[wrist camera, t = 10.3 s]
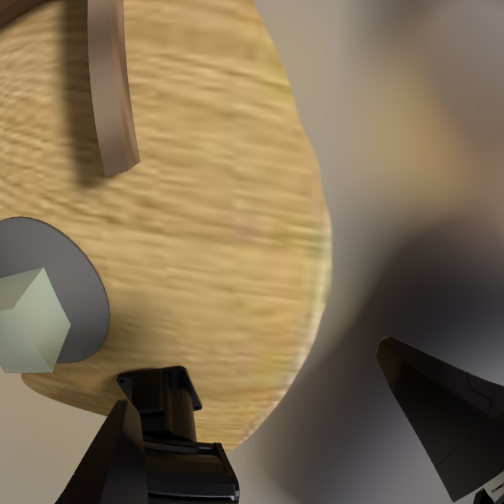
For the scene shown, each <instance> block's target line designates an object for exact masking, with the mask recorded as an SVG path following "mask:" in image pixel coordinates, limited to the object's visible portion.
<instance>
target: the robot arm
mask: <svg viewBox="0 0 504 504" xmlns="http://www.w3.org/2000/svg"><path fill="white" fill-rule="evenodd" d="M376 359H377V361H378V363H379V366H380V368H381V370H382V372H383V374H384V376H385V378H386V381H387V383H388V385H389V387H390V389H391V391H392V393H393V395H394V396H395V398H396V400H397V401H398V403H399V405H400V407H401V408H402V410H403V412H404V413H405V415H406V417H407V418H408V420H409V422H410V424H411V425H412V427H413V429H414V431H415V432H416V434H417V436H418V438H419V440H420V441H421V443H422V445H423V446H424V448H425V450H426V452H427V454H428V456H429V457H430V459H431V461H432V463H433V465H434V467H435V469H436V471H437V473H438V474H439V476H440V478H441V480H442V482H443V484H444V486H445V488H446V490H447V492H448V494H449V496H450V498H451V500H452V501H453V502H455V501H457V500H459V499H461V498H463V497H464V496H466V495H468V494H470V493H471V492H473V491H475V490H476V489H478V488H479V487H481V486H483V488H482V489H481V490H479V491H478V492H477V493H476V495H475V499H474V502H473V504H504V386H502V385H499V384H496V383H493V382H490V381H487V380H484V379H482V378H479V377H477V376H475V375H472V374H470V373H468V372H465V371H464V370H461V369H459V368H457V367H455V366H453V365H450V364H448V363H446V362H444V361H442V360H440V359H438V358H436V357H433V356H431V355H429V354H427V353H425V352H423V351H421V350H419V349H416V348H414V347H412V346H410V345H408V344H406V343H404V342H402V341H400V340H397V339H395V338H393V337H391V336H388V337H385V338H383V339H381V340H380V341H379V344H378V348H377V353H376ZM117 383H118V384H119V386H120V387H121V388H122V390H123V391H124V393H125V394H126V396H127V397H128V399H129V400H127V399H126V400H118V401H117V402H116V404H115V405H114V407H113V409H112V410H111V412H110V413H109V415H108V417H107V418H106V420H105V422H104V423H103V425H102V427H101V428H100V430H99V432H98V433H97V435H96V436H95V438H94V440H93V441H92V443H91V445H90V447H89V449H88V450H87V452H86V453H85V455H84V457H83V458H82V460H81V462H80V464H79V466H78V467H77V469H76V471H75V472H74V475H73V476H72V478H71V479H70V481H69V483H68V484H67V486H66V488H65V489H64V491H63V493H62V494H61V495H60V497H59V498H58V500H57V501H56V502H55V504H238V502H239V496H240V492H239V491H240V490H239V484H238V480H237V477H236V475H235V473H234V471H233V469H232V467H231V465H230V463H229V460H228V459H227V456H226V454H225V452H224V449H223V447H222V445H221V443H215V442H214V443H202V442H197V438H196V430H195V422H194V413H193V411H197V410H201V409H202V404H201V401H200V399H199V397H198V395H197V393H196V390H195V388H194V386H193V384H192V381H191V379H190V377H189V374H188V372H187V369H186V368H184V367H174V368H167V369H160V370H153V371H146V372H138V373H129V374H120V375H118V376H117Z"/></svg>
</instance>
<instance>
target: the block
mask: <svg viewBox="0 0 504 504" xmlns="http://www.w3.org/2000/svg"><path fill="white" fill-rule="evenodd" d="M70 326H71V324H70V322H69V320H68V318H67V316H66V314H65V312H64V311H63V309H62V306H61V304H60V302H59V300H58V298H57V296H56V294H55V292H54V290H53V287H52V285H51V283H50V281H49V278H48V276H47V274H46V271H45V269H44V267H43V268H39V269H35V270H31V271H27V272H23V273H19V274H15V275H11V276H7V277H4V278H0V366H1V367H2V369H3V370H4V371H5V373H44V372H53V369H54V367H55V364H56V361H57V358H58V356H59V353H60V351H61V348H62V345H63V343H64V340H65V338H66V335H67V333H68V331H69V328H70Z"/></svg>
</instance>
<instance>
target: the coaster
mask: <svg viewBox="0 0 504 504" xmlns="http://www.w3.org/2000/svg"><path fill="white" fill-rule="evenodd" d="M43 267H44V269H45V271H46V274H47V276H48V278H49V281H50V283H51V285H52V287H53V290H54V292H55V294H56V296H57V298H58V300H59V302H60V304H61V306H62V309H63V311H64V312H65V314H66V316H67V318H68V320H69V322H70V324H71V326H70V328H69V331H68V333H67V335H66V338H65V340H64V343H63V345H62V348H61V351H60V353H59V356H58V358H57V361H56V363H74V362H78V361H82V360H84V359H86V358H88V357H90V356H91V355H93V354H94V353H95V352H96V351H97V350H98V349H99V348H100V346H101V345H102V343H103V342H104V339H105V337H106V334H107V330H108V326H109V317H110V313H109V303H108V299H107V294H106V291H105V288H104V285H103V283H102V281H101V279H100V277H99V275H98V273H97V271H96V269H95V268H94V266H93V264H92V263H91V262H90V260H89V259H88V258H87V256H86V255H85V254H84V252H83V251H82V250H81V249H80V248H79V247H78V246H77V245H76V244H75V243H74V242H73V241H72V240H71V239H70V238H69V237H68V236H66V235H65V234H63V233H62V232H61V231H59V230H58V229H56V228H55V227H53V226H51V225H49V224H47V223H45V222H43V221H40V220H37V219H33V218H29V217H11V218H8V219H4V220H2V221H0V278H4V277H7V276H11V275H15V274H19V273H23V272H27V271H31V270H35V269H39V268H43Z"/></svg>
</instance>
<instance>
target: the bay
mask: <svg viewBox="0 0 504 504" xmlns="http://www.w3.org/2000/svg"><path fill="white" fill-rule="evenodd" d="M45 1H47V0H0V27H1V26H3V25H4V24H6V23H7V22H9V21H10V20H12V19H14V18H15V17H17V16H19V15H20V14H22V13H24V12H26V11H28V10H29V9H31V8H33V7H35V6H37V5H39V4H41V3H43V2H45ZM87 26H88V58H89V73H90V85H91V94H92V103H93V111H94V118H95V125H96V131H97V137H98V143H99V149H100V154H101V159H102V164H103V169H104V174H105V176H109V175H112V174H116V173H120V172H124V171H128V170H129V169H131V168H132V167H133V166H135V165H136V164H137V163H139V162H140V158H139V153H138V147H137V141H136V135H135V129H134V122H133V116H132V108H131V101H130V93H129V84H128V75H127V65H126V53H125V38H124V16H123V0H88V21H87Z"/></svg>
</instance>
